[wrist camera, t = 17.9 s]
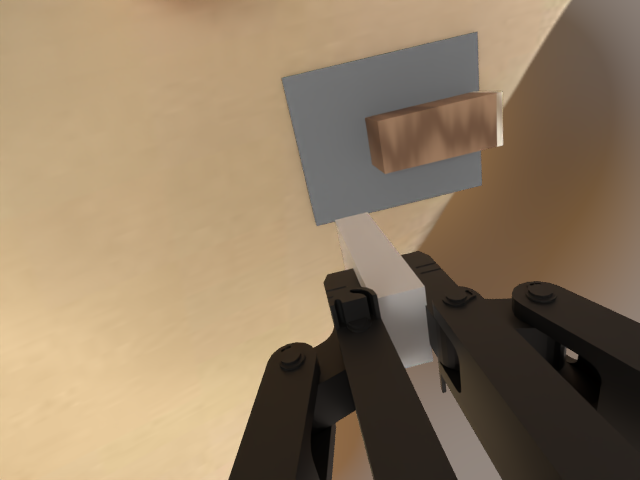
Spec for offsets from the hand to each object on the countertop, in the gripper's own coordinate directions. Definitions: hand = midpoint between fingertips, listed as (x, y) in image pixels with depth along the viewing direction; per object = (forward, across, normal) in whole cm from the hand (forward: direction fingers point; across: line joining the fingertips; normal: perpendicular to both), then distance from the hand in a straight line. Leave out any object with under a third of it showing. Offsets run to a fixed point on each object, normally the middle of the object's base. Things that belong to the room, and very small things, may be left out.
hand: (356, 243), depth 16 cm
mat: (+24, +9, 0) cm, 26 cm away
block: (+21, +6, 0) cm, 22 cm away
